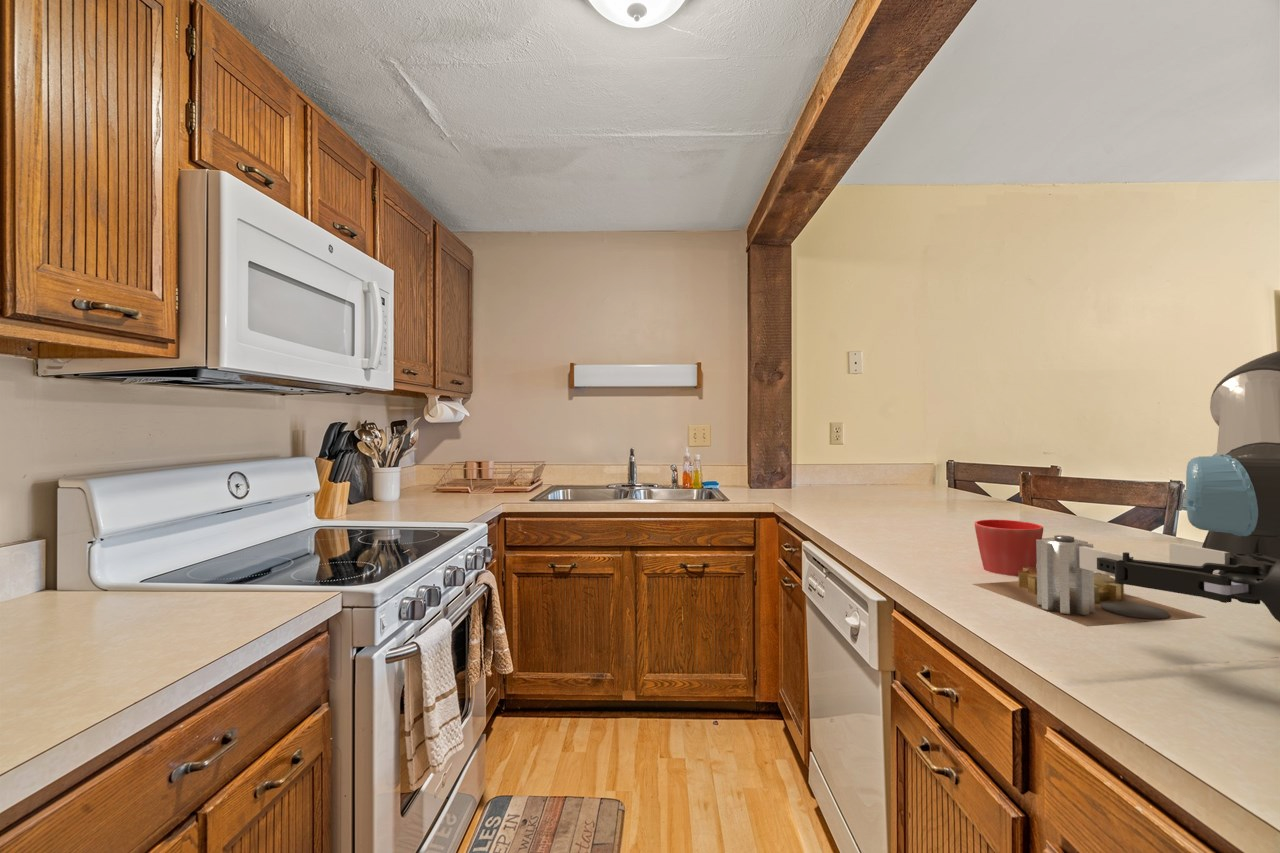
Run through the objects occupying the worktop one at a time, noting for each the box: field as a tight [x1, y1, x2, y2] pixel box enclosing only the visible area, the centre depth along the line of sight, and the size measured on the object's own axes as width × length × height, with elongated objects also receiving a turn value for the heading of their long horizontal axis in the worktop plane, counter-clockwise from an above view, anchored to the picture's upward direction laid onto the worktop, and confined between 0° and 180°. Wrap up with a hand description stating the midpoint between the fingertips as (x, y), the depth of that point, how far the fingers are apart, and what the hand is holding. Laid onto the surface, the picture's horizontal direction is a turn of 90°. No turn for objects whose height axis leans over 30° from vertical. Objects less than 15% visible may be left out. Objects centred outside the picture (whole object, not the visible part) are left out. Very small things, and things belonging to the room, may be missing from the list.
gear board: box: [972, 580, 1206, 627], centre depth 93 cm, size 19×22×1 cm
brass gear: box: [1017, 567, 1125, 604], centre depth 97 cm, size 14×14×4 cm
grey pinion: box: [1036, 534, 1094, 615], centre depth 88 cm, size 7×7×11 cm
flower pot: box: [974, 519, 1044, 577], centre depth 111 cm, size 11×11×10 cm
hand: (1127, 555), depth 78 cm, fingers open, 13 cm apart
